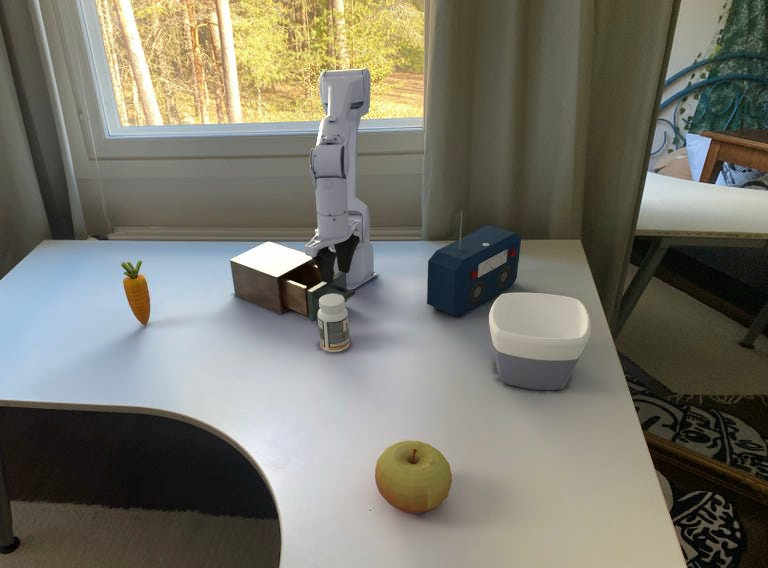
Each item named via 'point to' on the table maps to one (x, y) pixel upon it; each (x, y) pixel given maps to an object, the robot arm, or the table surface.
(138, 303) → the carrot
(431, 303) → the radio
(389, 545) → the table surface
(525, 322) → the bowl
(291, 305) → the drawer
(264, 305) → the cabinet
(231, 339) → the table surface
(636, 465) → the table surface
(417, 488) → the apple
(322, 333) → the pill bottle
